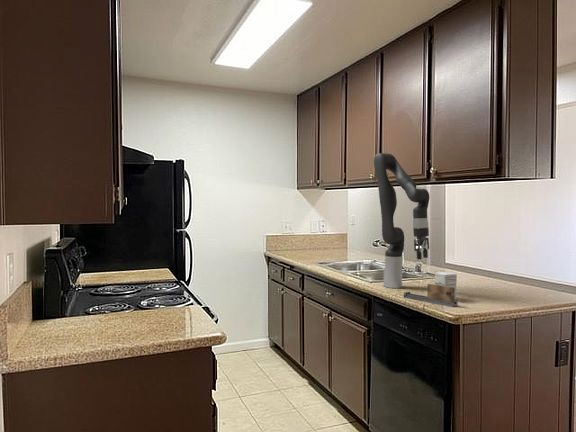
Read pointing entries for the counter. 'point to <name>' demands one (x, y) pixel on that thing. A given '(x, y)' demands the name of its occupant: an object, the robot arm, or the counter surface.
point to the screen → (440, 292)
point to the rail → (429, 299)
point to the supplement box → (446, 280)
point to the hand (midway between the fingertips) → (422, 258)
